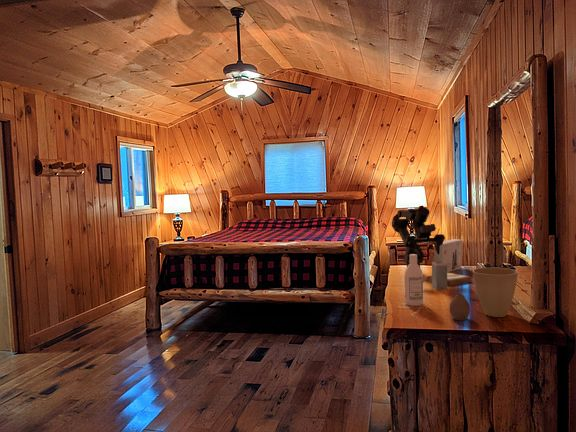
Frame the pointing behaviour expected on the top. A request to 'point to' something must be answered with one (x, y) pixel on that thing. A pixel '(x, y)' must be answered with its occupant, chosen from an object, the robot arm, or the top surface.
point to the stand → (454, 279)
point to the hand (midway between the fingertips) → (429, 254)
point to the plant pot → (495, 289)
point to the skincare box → (450, 254)
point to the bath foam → (413, 283)
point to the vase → (459, 307)
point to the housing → (439, 275)
